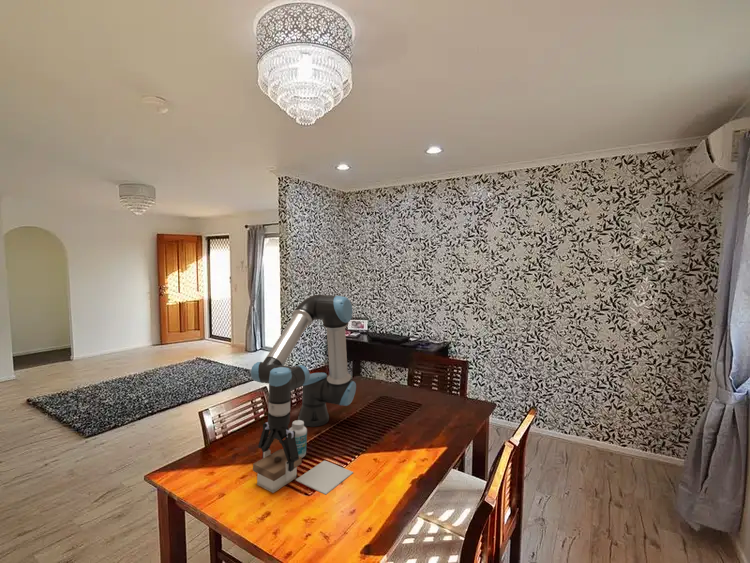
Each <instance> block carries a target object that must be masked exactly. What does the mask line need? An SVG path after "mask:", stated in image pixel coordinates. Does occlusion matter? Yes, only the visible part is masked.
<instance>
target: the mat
mask: <svg viewBox="0 0 750 563" xmlns="http://www.w3.org/2000/svg"><path fill="white" fill-rule="evenodd" d="M353 474H354V471H351V470H350V469H346V468H344V467H343V466H339V465H337V464H335V463H332V462H330V461H327V460H322V461H321V462H320V463H318V464H317V465H315V466H314V467H312V468H311V469H310V470H307V471H306V472H304V474H302V475H300V476H299V477H296V478H295V481H296V482H298V483H300V484H302V485H304V486H306V487H308V488H309V489H310V488H311V489H312V490H315V491H317V492H319V493H321V494H323V495H328V494H329V493H330V492H331V491H332V490H334V489H335V488H336V487H338V486H339V485H340V484H341V483H342V482H344V481H346V479H348V478H349V477H350V476H352V475H353Z"/></svg>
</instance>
